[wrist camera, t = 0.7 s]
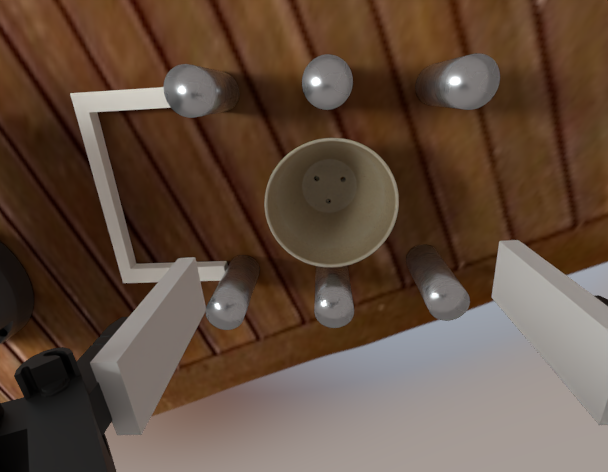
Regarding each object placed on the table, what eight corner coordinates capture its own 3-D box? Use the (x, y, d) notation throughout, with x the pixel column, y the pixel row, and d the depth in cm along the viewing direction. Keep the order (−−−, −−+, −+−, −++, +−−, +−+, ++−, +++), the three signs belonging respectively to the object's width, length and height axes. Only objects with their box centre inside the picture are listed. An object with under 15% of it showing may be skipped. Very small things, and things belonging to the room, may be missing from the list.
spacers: (231, 283, 37) (208, 330, 30) (199, 72, 30) (159, 65, 23) (436, 277, 36) (466, 325, 29) (457, 55, 29) (505, 42, 21)
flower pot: (405, 191, 33) (426, 216, 26) (321, 253, 36) (320, 289, 29) (338, 103, 30) (343, 106, 24) (253, 177, 33) (236, 198, 26)
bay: (128, 277, 38) (123, 283, 37) (79, 93, 31) (70, 93, 30) (229, 274, 37) (226, 280, 36) (200, 85, 30) (195, 85, 29)
